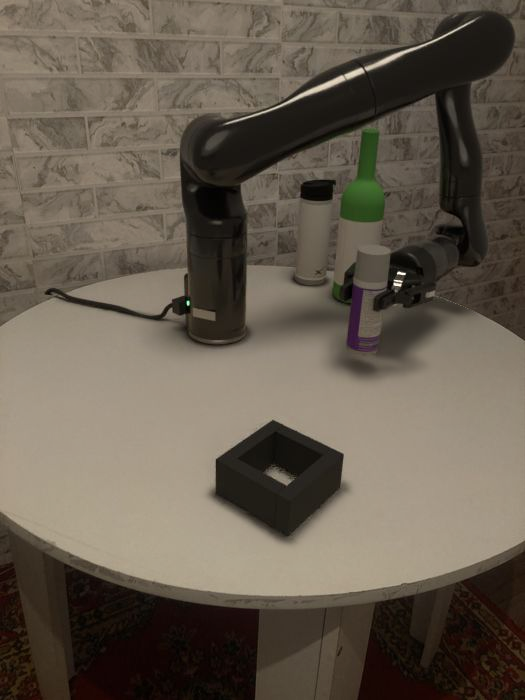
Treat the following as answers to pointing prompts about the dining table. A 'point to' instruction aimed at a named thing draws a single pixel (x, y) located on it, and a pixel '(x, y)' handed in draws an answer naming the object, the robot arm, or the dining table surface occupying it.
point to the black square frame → (266, 492)
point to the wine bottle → (359, 210)
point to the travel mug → (314, 231)
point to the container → (367, 298)
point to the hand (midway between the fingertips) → (359, 299)
